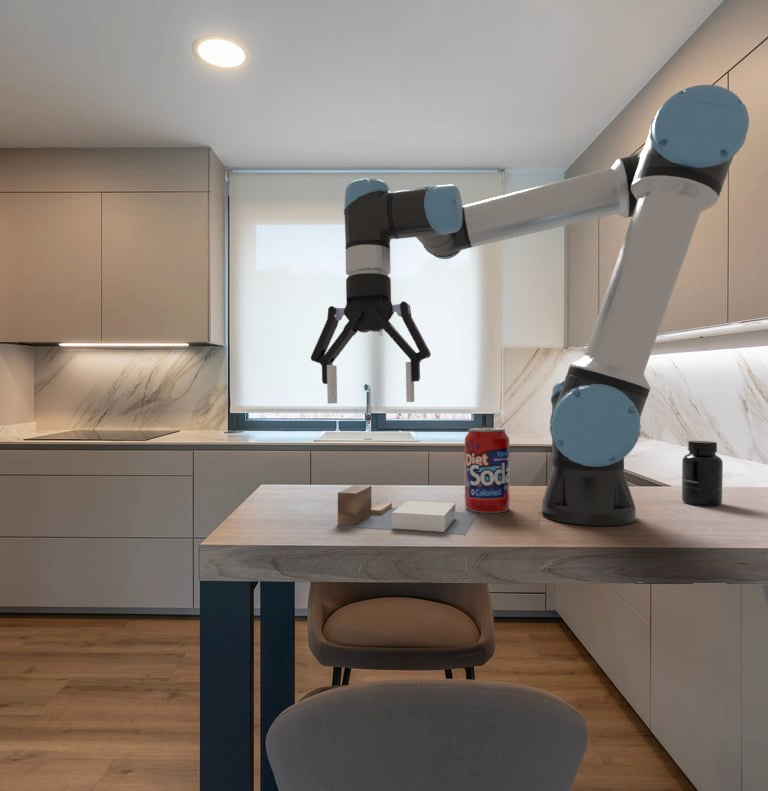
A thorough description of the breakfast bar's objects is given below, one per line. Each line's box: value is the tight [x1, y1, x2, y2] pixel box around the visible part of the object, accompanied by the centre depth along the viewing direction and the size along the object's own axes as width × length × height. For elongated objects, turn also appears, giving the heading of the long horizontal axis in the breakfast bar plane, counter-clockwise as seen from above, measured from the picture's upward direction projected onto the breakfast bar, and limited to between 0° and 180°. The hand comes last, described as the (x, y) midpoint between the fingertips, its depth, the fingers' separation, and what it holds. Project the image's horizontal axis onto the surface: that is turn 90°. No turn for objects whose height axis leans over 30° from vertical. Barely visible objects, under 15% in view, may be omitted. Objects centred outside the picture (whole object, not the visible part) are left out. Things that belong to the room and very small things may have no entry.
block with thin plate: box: [337, 484, 393, 526], centre depth 95 cm, size 6×16×5 cm, turn 163°
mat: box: [336, 507, 480, 536], centre depth 92 cm, size 20×16×1 cm
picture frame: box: [392, 500, 456, 532], centre depth 89 cm, size 8×3×10 cm
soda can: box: [464, 427, 510, 514], centre depth 100 cm, size 8×8×15 cm
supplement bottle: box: [681, 440, 724, 507], centre depth 109 cm, size 7×7×12 cm
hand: (370, 403), depth 94 cm, fingers open, 13 cm apart
